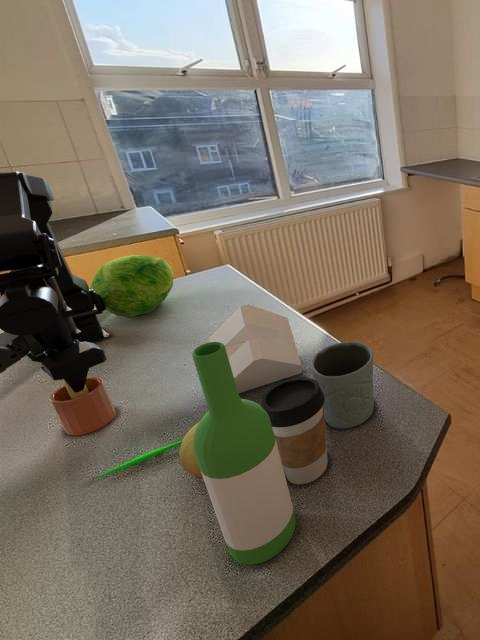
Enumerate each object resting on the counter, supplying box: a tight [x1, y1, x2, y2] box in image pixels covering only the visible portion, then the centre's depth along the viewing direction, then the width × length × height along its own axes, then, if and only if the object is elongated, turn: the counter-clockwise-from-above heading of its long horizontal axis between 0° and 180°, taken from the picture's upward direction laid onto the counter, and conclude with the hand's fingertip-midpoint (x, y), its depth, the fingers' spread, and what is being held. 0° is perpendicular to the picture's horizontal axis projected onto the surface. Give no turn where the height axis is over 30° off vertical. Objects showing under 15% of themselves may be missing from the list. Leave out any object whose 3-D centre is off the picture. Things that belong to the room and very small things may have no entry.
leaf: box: [90, 439, 183, 481], centre depth 68 cm, size 1×14×1 cm, turn 132°
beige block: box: [208, 304, 303, 394], centre depth 84 cm, size 14×11×18 cm
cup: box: [49, 376, 116, 436], centre depth 74 cm, size 6×6×7 cm
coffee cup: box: [260, 377, 329, 485], centre depth 64 cm, size 8×8×15 cm
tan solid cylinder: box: [61, 379, 89, 399], centre depth 72 cm, size 2×2×8 cm
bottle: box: [191, 342, 297, 566], centre depth 51 cm, size 8×8×30 cm
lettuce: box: [89, 254, 175, 318], centre depth 109 cm, size 15×23×16 cm
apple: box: [178, 421, 204, 480], centre depth 66 cm, size 10×10×8 cm
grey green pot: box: [310, 341, 375, 430], centre depth 76 cm, size 10×10×12 cm
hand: (76, 388), depth 73 cm, fingers closed on tan solid cylinder, 2 cm apart
